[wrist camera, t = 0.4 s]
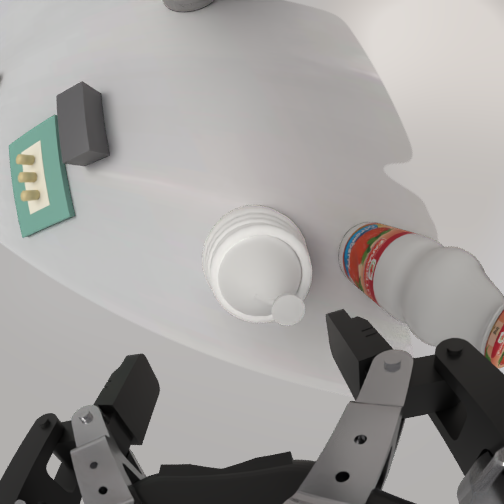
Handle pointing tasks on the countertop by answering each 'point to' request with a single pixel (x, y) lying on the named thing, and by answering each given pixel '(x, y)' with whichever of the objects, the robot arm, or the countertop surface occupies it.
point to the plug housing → (81, 125)
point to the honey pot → (258, 265)
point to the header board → (40, 178)
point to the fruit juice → (426, 286)
